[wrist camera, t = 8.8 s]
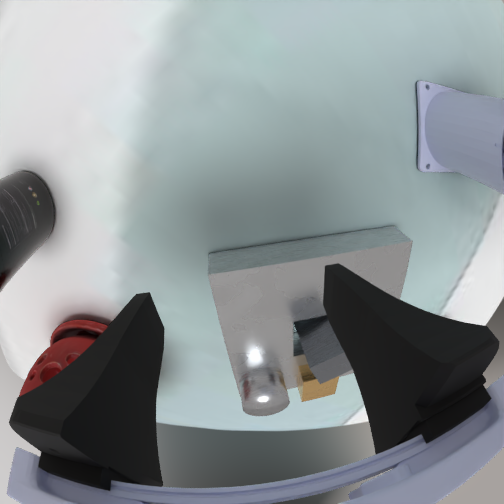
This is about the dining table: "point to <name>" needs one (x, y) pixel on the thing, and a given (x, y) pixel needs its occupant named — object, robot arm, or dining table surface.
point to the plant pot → (62, 350)
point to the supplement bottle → (22, 221)
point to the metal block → (322, 348)
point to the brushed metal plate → (291, 305)
